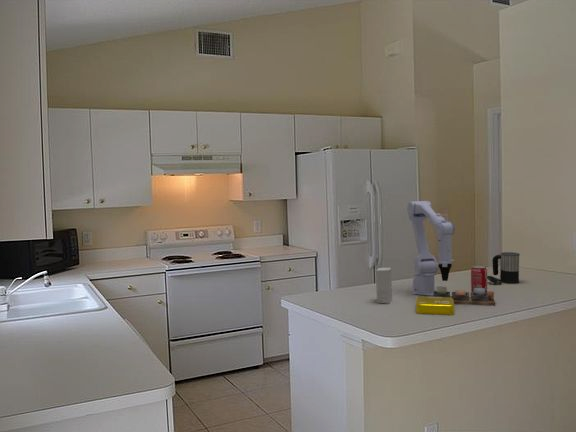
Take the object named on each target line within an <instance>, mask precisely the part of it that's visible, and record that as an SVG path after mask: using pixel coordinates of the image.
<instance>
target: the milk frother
mask: <svg viewBox="0 0 576 432" xmlns="http://www.w3.org/2000/svg"><path fill="white" fill-rule="evenodd" d="M520 255H521V254H520V252H519V253H518V252H511V251H506V252H505V251H504V252H500V254H497V255H495V256H493V258H492V275H493V276H492V275H487V281H489V282H491V283H493V285H502V283H503V284H513V285H514V284H519V283H520V278H519V277H520ZM499 260H500V266H499ZM499 267H500V269H499ZM499 270H500V271H499ZM499 273H500V276H499V278H500V279H499V278H497V277H494V276H498V275H499Z"/></svg>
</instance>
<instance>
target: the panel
mask: <svg viewBox="0 0 576 432" xmlns="http://www.w3.org/2000/svg"><path fill="white" fill-rule="evenodd" d="M469 293H470V294H469ZM427 297H451V298H453V300H454V305H465V306H466V305H471V306H489V307H490V306H493V307H495V306H496V301H495V292H494V291H490V290H489V291H487V293H485V296H478V295H474V292H471V291H470V292H469V291H466V295H455V291H452V292H451V291H447V294H436V290H434V294H433V295H427Z"/></svg>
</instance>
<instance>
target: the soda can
mask: <svg viewBox="0 0 576 432" xmlns="http://www.w3.org/2000/svg"><path fill="white" fill-rule="evenodd" d="M487 276H488V269H487V266H486V265H472V266H471V269H470V278H471V279H470V293H471V292H474V288H484V289H485V293H488V279H487Z"/></svg>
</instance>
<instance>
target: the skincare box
mask: <svg viewBox="0 0 576 432" xmlns="http://www.w3.org/2000/svg"><path fill="white" fill-rule="evenodd" d="M375 278H376V281H375V282H376V283H375V284H376V303H378V304H387V305H389V304H391V301H392V300H393V289H392V288H393V285H392V282H393V281H392V268H391V267H378V268H377V269H376V270H375Z"/></svg>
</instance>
